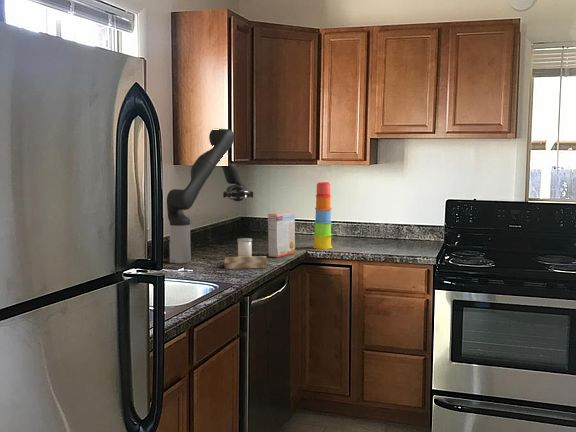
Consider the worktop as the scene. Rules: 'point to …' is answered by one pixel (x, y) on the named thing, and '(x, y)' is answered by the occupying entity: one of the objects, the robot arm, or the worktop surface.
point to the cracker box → (281, 234)
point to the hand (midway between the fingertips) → (238, 195)
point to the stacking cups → (323, 217)
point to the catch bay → (246, 262)
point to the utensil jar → (244, 247)
